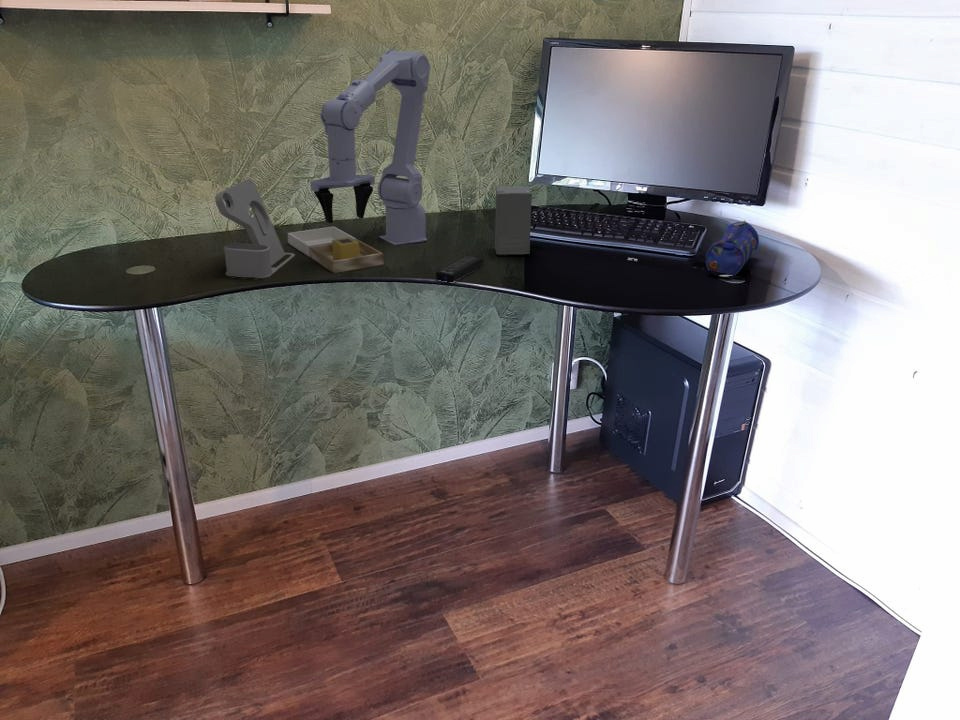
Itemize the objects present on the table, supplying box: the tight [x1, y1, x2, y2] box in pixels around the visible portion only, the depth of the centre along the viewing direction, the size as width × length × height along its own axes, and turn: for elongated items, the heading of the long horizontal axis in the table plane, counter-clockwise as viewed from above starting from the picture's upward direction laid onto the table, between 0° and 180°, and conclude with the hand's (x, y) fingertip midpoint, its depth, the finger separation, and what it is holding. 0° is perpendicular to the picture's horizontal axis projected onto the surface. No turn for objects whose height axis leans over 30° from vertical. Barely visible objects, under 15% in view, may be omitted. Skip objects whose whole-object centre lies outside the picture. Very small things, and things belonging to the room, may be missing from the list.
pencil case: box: [705, 220, 760, 276], centre depth 181 cm, size 22×9×10 cm, turn 153°
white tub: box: [287, 225, 358, 258], centre depth 184 cm, size 12×12×3 cm
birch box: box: [310, 239, 385, 276], centre depth 175 cm, size 12×12×3 cm
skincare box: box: [494, 185, 533, 255], centre depth 183 cm, size 8×7×16 cm
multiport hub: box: [435, 254, 485, 282], centre depth 172 cm, size 4×14×2 cm, turn 152°
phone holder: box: [214, 178, 296, 278], centre depth 168 cm, size 17×10×18 cm, turn 171°
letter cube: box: [332, 238, 360, 261], centre depth 175 cm, size 4×4×5 cm
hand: (344, 219), depth 172 cm, fingers open, 7 cm apart
